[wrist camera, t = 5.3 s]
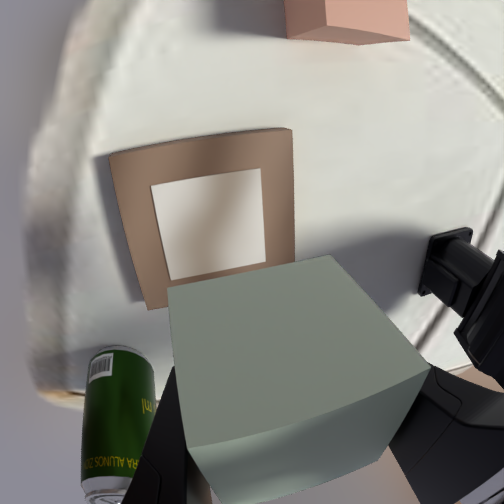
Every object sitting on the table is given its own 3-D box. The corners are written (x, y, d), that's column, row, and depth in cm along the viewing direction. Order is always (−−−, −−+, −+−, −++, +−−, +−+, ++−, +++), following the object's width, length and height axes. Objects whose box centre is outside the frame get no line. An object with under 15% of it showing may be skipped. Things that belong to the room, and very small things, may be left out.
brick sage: (320, 360, 12) (377, 460, 8) (198, 391, 11) (226, 510, 7) (329, 254, 10) (431, 367, 6) (166, 287, 9) (187, 448, 5)
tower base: (284, 127, 18) (292, 130, 17) (288, 271, 23) (295, 280, 22) (111, 153, 16) (108, 157, 15) (147, 299, 21) (147, 311, 20)
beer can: (76, 362, 22) (64, 498, 11) (119, 331, 21) (118, 485, 11) (123, 393, 24) (130, 518, 14) (166, 368, 24) (188, 505, 14)
